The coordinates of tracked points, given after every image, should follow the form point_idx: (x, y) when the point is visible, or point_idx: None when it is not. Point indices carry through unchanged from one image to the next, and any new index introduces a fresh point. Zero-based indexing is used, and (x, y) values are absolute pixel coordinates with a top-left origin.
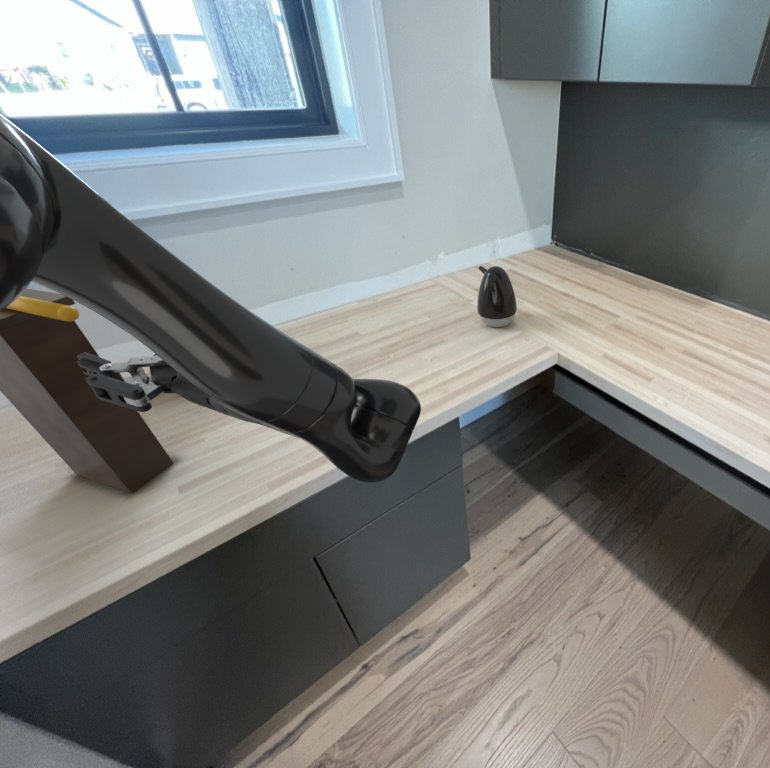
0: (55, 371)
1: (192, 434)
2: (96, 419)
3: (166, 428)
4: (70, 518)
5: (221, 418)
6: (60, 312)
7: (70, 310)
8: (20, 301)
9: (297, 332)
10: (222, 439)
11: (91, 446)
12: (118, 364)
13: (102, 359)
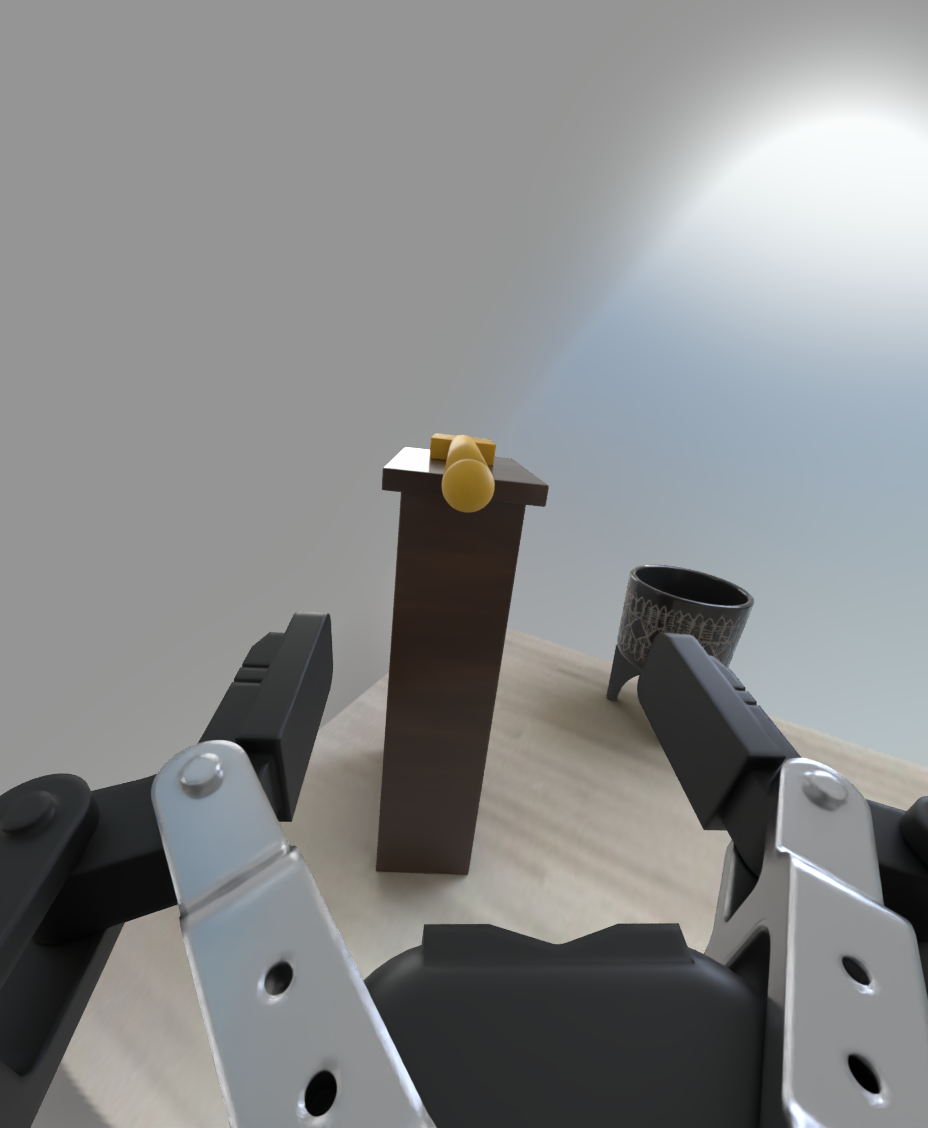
0: (426, 609)
1: (540, 838)
2: (420, 725)
3: (525, 779)
4: (308, 819)
5: (604, 854)
6: (449, 470)
7: (472, 475)
8: (456, 446)
9: (860, 776)
10: (567, 921)
11: (383, 759)
12: (235, 817)
13: (286, 699)
